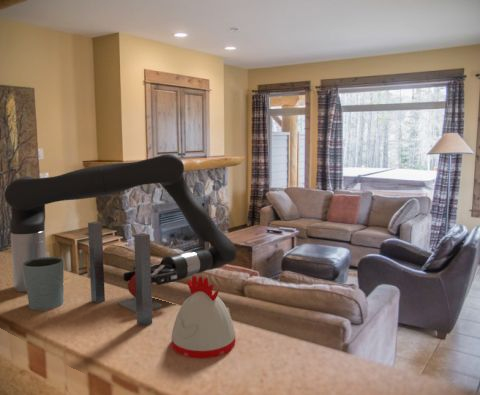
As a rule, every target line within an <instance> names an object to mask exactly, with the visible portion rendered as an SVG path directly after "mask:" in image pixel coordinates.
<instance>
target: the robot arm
mask: <svg viewBox="0 0 480 395" xmlns="http://www.w3.org/2000/svg"><path fill="white" fill-rule="evenodd" d="M184 169H185V165H184V163H183V160H181V158H180V157H178V156H177V155H174V154H169V153H166V154H165V153H164V154H162V155H158V156H154V157H151V158H148V159H147V158H146V159H143V160H138V161H130V162H119V163H118V162H117V163H109V164H102V165H93V166H89V167H85V168H80V169H76V170H73V171H70V172H66V173H63V174H60V175H56V176H55V175H54V176H49V177H39V178H35V177H33V176H21V177H18V178H16V179H14V180H12V181H11V182H10V183H8V185H7V186H6V189H5V190H4V200H5V202H6V203H7V204H8V205H9V206H10V207H11V219H10V223H9V231H10V244H11V245H10V246H11V257H12V258H11V259H12V260H11V261H12V272H13V273H12V275H13V286H14V287H13V288H14V290H15V291H16V292H20V293H23V292H24V293H25V292H26V293H27V287H26V283H25V276H24V270H23V263H24V262H26V261H28V260H32V259H36V258H43V257H47V247H46V246H47V245H46V244H47V243H46V241H47V240H46V230H45V229H46V227H45V226H46V224H45V222H46V205H49V204H52V203H53V204H54V203H57V202H64V201H74V200H84V199H86V200H87V199H91V198H99V197H100V198H101V197H104V196H112V195H114V194H119V193H122V192H124V191H127V190H129V189H132V188H136V187H139V186H142V185H143V186H144V185H151V184H159V185H161V186H162V187H163V189H165V191H166V192H167V193H168V194H169V196H170V197H171V198H172V200H173V201H174V202H175V204H176V205H177V207H178V208H179V210H180V211H181V213H182V215H183V217H184V218H185V220H186V222H187V224H188V226H189V227H190V229H191V230H192V232H193V233H194V235H195V236H196V238H197V239H198V241H199V242H201V243H209V244H210V245H211V246H210V247H208V248H196V249H193V250H188V251H183V252H182V251H181V252H178V253H173V254H169V255H166V256H164V257H163V258H162V259H161V261H160V263H153V264H151V285H157V286H160V285H166V284H169V283H174V282H178V281H180V280H184V279H188V278H191V277H192V276H196V275H197V274H200V273H203V272H206V271H211V270H215V269H219V268H221V267H223V266H227V265H228V264H230V263H232V262H234V261H235V260H236V258H237V248H236V246H235V244H234V243H233V241H232V240H231V239H230V238H229V237H228V236H227V235H226V234H225V233H224V232H223V231H221V230H220V229H219V228H218V227H217V225H216V224H215V222H214V220H213V219H212V217H211V215H210V214H209V213H208V211H207V210H206V208H205V207H204V206H203V205H202V203H201V202H200V200H198V199H197V197H196V196H195V195H194V193H193V192H192V191H191V189H190V186H188V183H187V182H186V179H185V177H184V171H185V170H184ZM132 269H133V270H131V271H130V270H129V271H126V272H124V273H123V275H122V276H123V281H124V282H129V281H130V280H131V278H132V277H133V276H134V275H135V266H134V267H133V266H132Z"/></svg>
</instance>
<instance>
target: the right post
mask: <svg viewBox="0 0 480 395" xmlns="http://www.w3.org/2000/svg"><path fill="white" fill-rule="evenodd" d="M133 235H134V236H133V238H134V241H133V242H134V267H135V277H136V308H137V313H136V324H137V325H139V326H141V327H142V328H143V327H146V326H149V325H152V324H153V309H152V301H153V299H152V298H153V297H152V284H151V265H152V264H151V263H152V262H151V235H150V234H148V233H144V232H141V233H137V234H133Z"/></svg>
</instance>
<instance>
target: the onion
mask: <svg viewBox="0 0 480 395" xmlns="http://www.w3.org/2000/svg"><path fill="white" fill-rule="evenodd" d="M127 288H128V292H129V294H130V295H131V296H133V297H136V277H135V275H134V276H133V277H132V278H131V280H129V281H128V285H127Z"/></svg>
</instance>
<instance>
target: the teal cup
mask: <svg viewBox="0 0 480 395" xmlns="http://www.w3.org/2000/svg"><path fill="white" fill-rule="evenodd" d="M64 266H65V265H64V258H62V257H59V256H46V257H43V258H36V259H32V260H28V261H26V262H24V263H23V270H24V276H25V283H26V287H27V292H26V295H27V300H28V307H29V309H30V310H33V311H49V310H53V309H56V308H59V307H61V306H62V305H63V304H64Z"/></svg>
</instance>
